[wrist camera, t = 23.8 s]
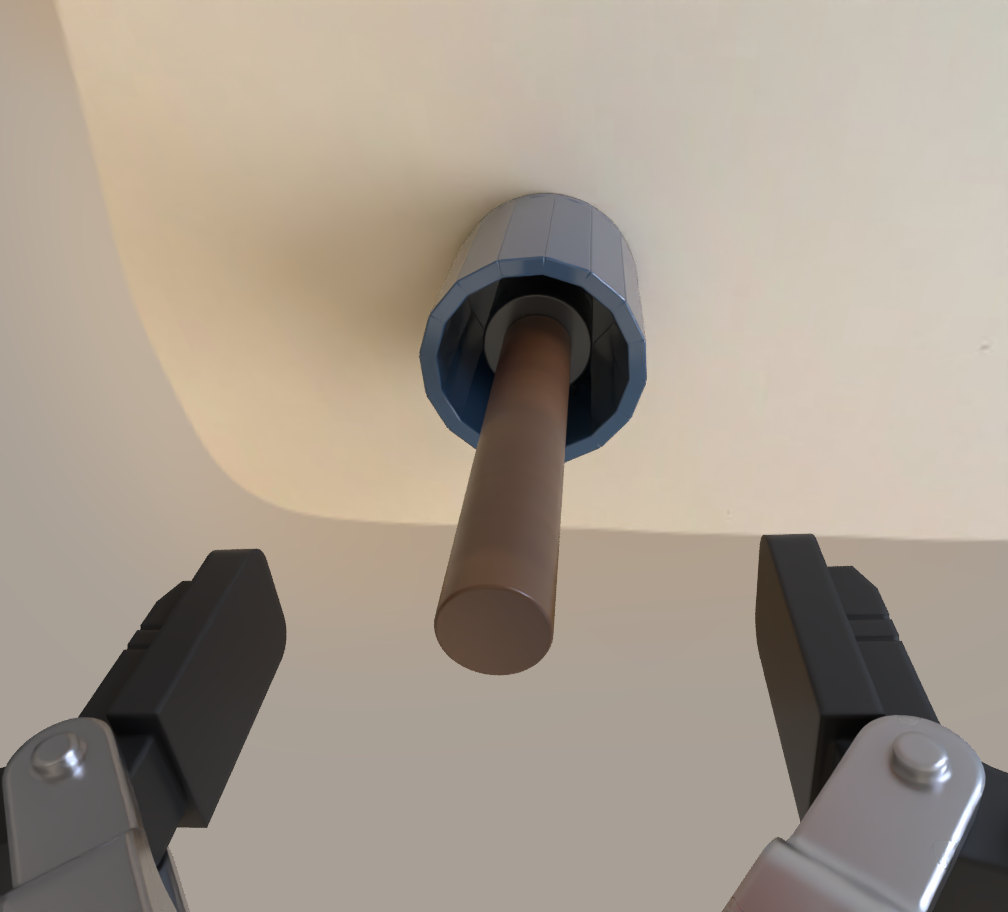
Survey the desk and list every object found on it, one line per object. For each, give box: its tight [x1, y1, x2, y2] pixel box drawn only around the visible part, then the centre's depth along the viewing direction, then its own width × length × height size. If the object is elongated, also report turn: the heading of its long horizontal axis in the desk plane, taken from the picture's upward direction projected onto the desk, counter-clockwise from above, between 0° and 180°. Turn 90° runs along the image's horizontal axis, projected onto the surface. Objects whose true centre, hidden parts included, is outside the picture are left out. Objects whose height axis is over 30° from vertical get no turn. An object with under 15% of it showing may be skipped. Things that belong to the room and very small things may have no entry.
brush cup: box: [419, 193, 647, 463], centre depth 26 cm, size 6×6×7 cm
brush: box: [434, 275, 593, 675], centre depth 21 cm, size 3×3×17 cm
